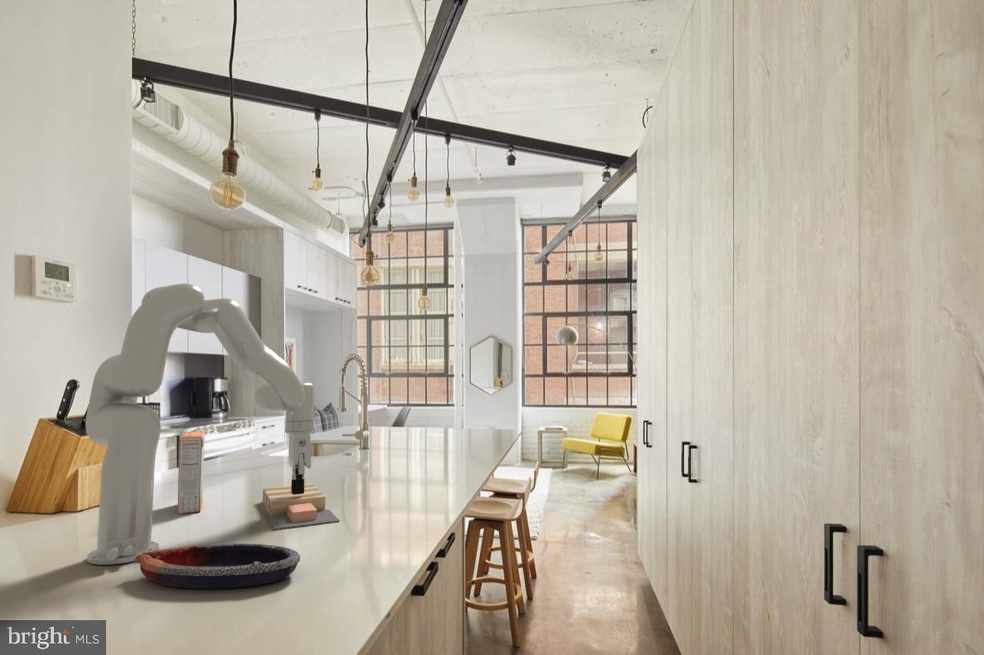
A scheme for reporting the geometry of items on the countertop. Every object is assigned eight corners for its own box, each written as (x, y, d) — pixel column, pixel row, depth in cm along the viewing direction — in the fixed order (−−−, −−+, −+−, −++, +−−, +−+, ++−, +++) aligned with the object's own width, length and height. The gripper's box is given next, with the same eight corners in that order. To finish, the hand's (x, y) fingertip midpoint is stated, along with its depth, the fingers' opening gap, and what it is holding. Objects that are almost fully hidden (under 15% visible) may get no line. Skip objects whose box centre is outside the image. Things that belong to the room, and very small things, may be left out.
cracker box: (179, 503, 162) (183, 431, 164) (203, 501, 164) (206, 430, 166) (175, 515, 149) (178, 436, 151) (200, 512, 152) (203, 435, 153)
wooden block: (325, 511, 153) (325, 496, 154) (271, 517, 147) (271, 502, 147) (311, 496, 171) (311, 483, 171) (262, 501, 164) (263, 488, 164)
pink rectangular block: (316, 519, 143) (316, 509, 144) (292, 522, 140) (292, 512, 141) (310, 511, 151) (310, 502, 151) (286, 514, 148) (287, 505, 149)
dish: (278, 597, 95) (279, 567, 95) (109, 592, 97) (111, 563, 98) (314, 566, 110) (314, 540, 111) (167, 562, 113) (169, 537, 113)
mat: (339, 521, 142) (339, 520, 142) (273, 530, 135) (273, 528, 135) (328, 510, 154) (328, 509, 154) (267, 517, 146) (267, 516, 146)
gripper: (318, 428, 150) (316, 497, 148) (308, 424, 163) (307, 487, 161) (288, 430, 146) (286, 500, 145) (281, 425, 159) (280, 490, 158)
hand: (297, 493), depth 153 cm, fingers closed
